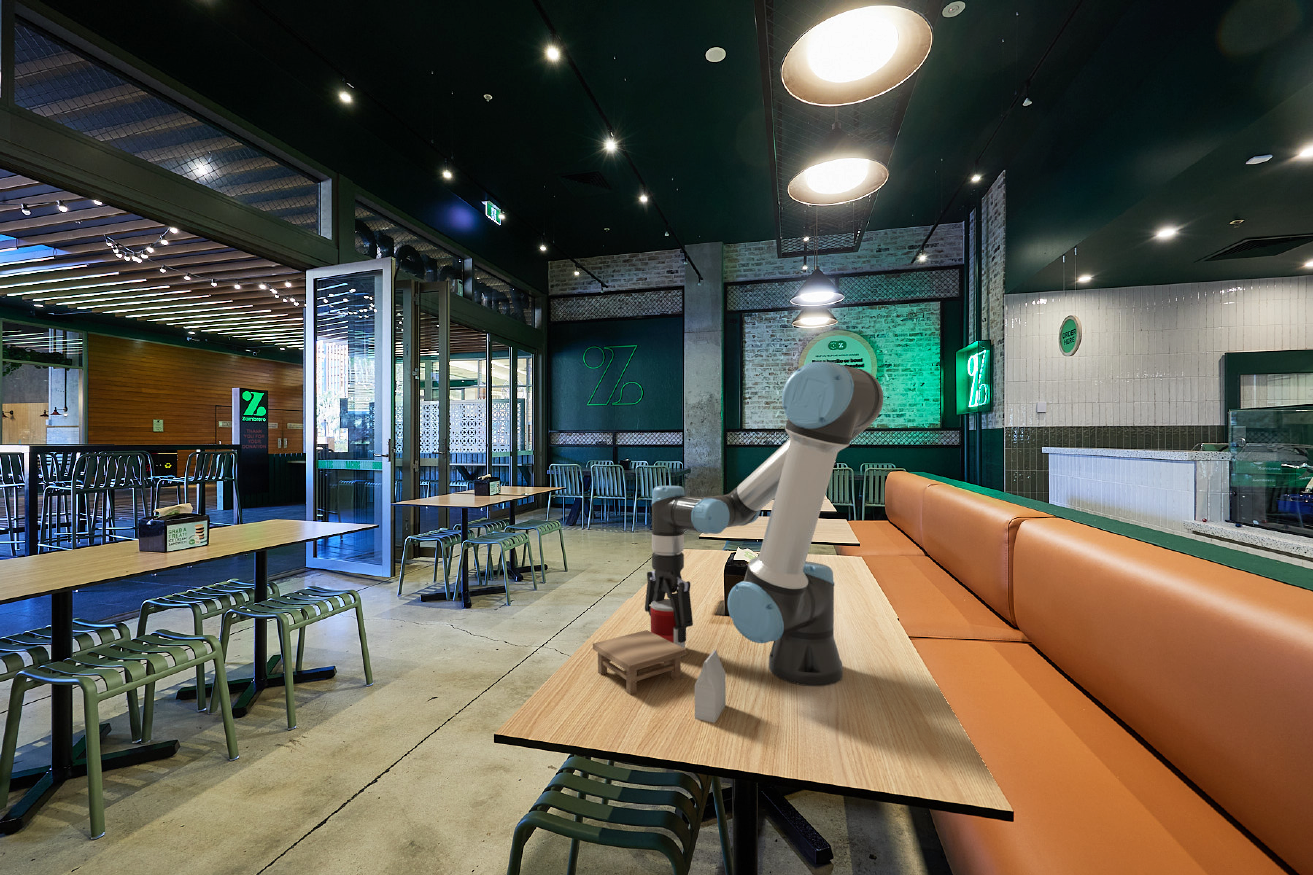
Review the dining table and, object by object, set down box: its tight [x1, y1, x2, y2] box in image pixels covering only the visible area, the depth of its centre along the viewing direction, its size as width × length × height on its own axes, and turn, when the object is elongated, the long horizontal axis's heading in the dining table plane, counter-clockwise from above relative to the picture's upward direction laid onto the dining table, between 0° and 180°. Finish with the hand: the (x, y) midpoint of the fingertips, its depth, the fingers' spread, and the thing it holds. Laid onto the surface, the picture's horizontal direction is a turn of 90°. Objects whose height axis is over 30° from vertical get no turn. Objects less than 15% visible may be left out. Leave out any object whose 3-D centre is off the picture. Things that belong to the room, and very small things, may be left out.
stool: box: [592, 629, 687, 695], centre depth 110 cm, size 14×14×6 cm
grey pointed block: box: [694, 649, 727, 724], centre depth 95 cm, size 4×7×10 cm, turn 157°
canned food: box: [650, 598, 681, 643], centre depth 124 cm, size 8×8×11 cm
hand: (667, 649), depth 124 cm, fingers open, 8 cm apart
